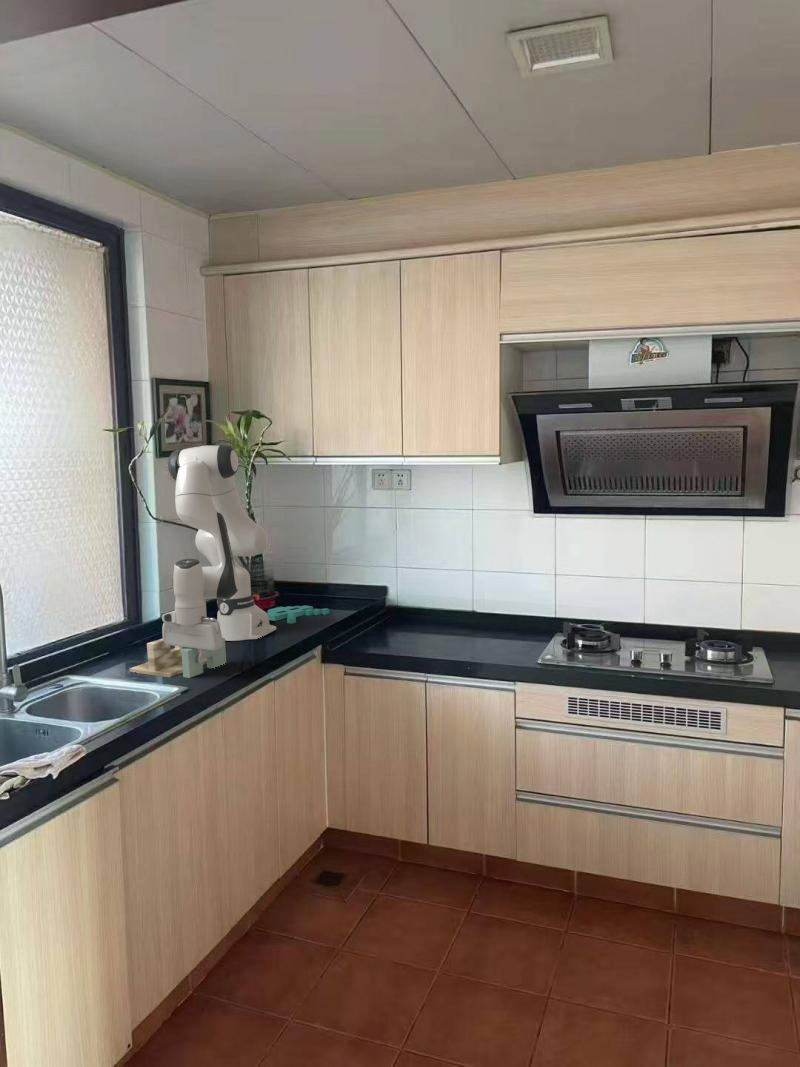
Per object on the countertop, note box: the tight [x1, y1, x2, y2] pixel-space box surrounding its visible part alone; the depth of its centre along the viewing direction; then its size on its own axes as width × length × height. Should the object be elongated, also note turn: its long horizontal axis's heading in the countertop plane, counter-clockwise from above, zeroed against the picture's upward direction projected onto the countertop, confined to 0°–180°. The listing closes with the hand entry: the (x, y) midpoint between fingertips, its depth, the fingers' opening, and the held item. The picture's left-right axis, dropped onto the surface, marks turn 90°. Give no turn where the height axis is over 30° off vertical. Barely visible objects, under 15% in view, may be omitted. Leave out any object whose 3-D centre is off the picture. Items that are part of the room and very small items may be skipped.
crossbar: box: [181, 638, 227, 679], centre depth 249 cm, size 16×2×8 cm, turn 151°
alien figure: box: [266, 605, 330, 624], centre depth 322 cm, size 20×2×20 cm
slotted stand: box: [129, 637, 207, 678], centre depth 255 cm, size 20×16×9 cm
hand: (194, 662), depth 245 cm, fingers open, 3 cm apart
